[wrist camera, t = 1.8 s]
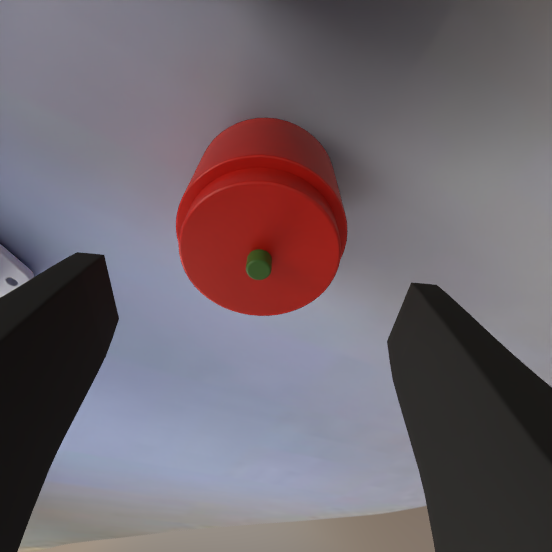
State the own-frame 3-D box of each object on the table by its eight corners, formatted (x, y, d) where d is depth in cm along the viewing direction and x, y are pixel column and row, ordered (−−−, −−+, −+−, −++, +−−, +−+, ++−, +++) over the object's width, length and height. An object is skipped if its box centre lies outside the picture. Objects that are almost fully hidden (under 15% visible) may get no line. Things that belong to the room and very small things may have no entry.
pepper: (245, 253, 17) (230, 356, 12) (174, 153, 14) (119, 237, 9) (352, 204, 15) (382, 301, 11) (296, 82, 13) (302, 138, 8)
